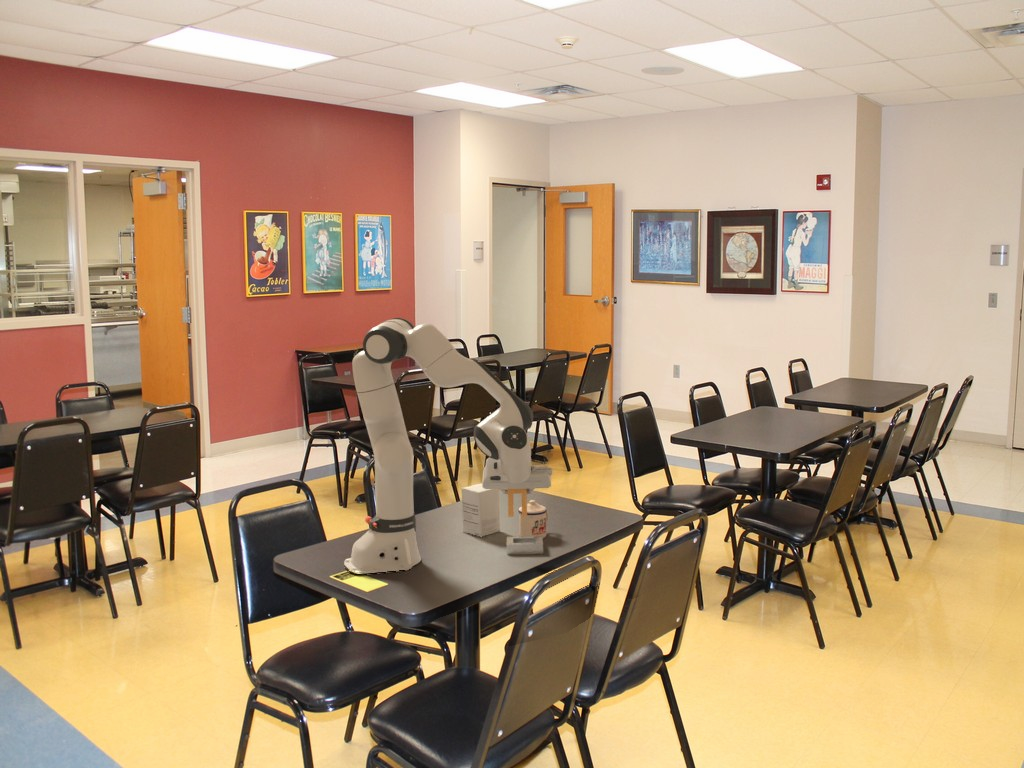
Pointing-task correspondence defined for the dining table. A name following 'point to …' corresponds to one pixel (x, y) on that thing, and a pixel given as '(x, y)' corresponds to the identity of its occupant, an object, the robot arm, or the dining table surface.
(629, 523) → the dining table surface
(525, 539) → the rectangular frame block
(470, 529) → the supplement box
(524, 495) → the orange notched arch block
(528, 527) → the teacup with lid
